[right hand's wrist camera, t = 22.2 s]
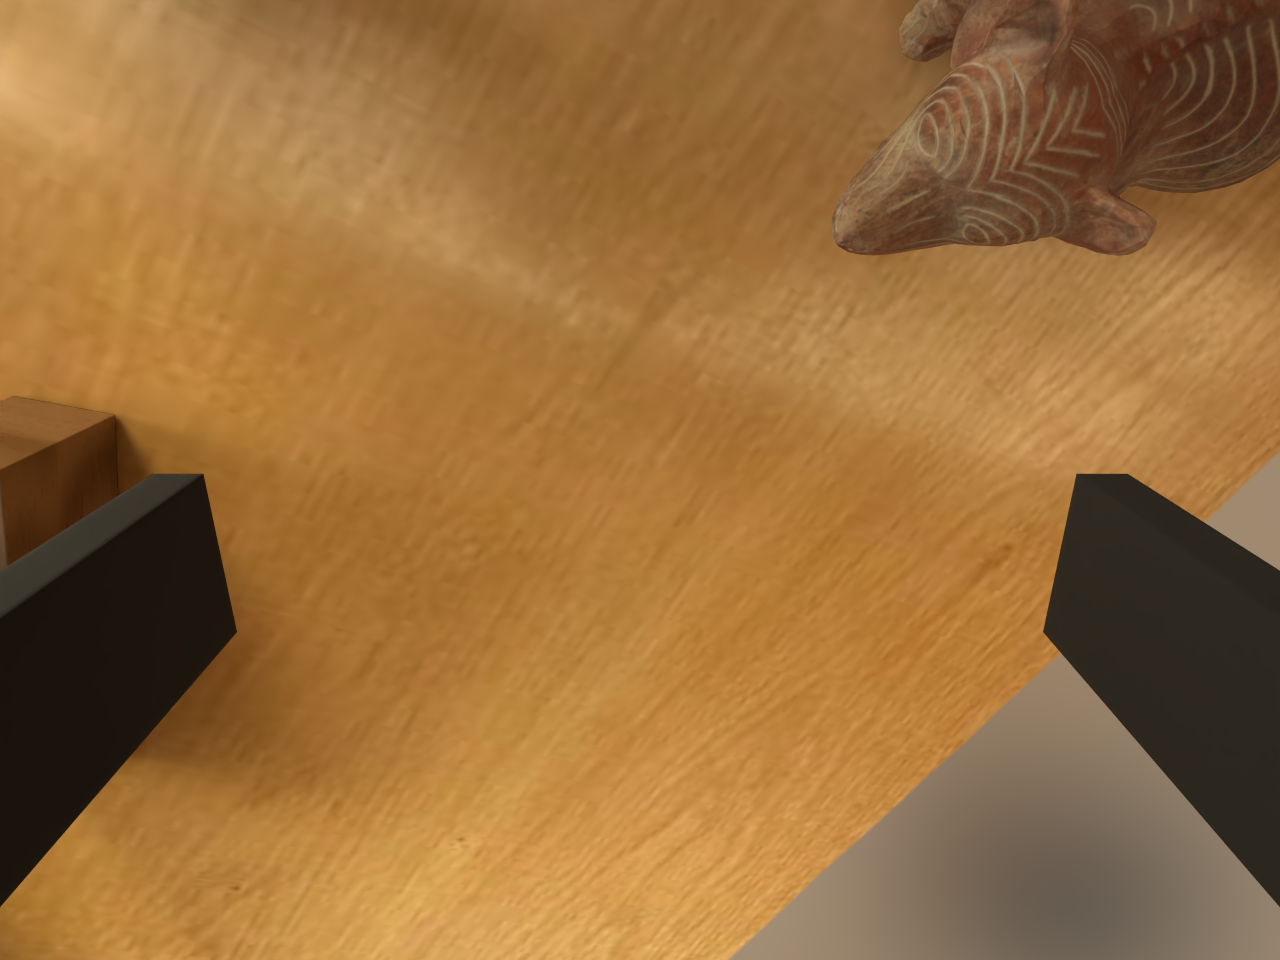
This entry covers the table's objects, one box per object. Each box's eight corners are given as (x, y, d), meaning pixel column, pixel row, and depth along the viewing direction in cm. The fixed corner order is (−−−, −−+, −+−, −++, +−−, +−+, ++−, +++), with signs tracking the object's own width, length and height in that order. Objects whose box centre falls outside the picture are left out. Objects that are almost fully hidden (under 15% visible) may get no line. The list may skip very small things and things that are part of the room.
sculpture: (721, 108, 37) (770, 75, 23) (1255, -263, 32) (1729, -590, 18) (859, 358, 41) (972, 457, 27) (1350, 64, 36) (1793, 2, 22)
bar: (12, 395, 42) (-129, 447, 34) (115, 414, 43) (-2, 470, 35) (42, 743, 50) (-67, 848, 43) (127, 756, 51) (35, 863, 43)
